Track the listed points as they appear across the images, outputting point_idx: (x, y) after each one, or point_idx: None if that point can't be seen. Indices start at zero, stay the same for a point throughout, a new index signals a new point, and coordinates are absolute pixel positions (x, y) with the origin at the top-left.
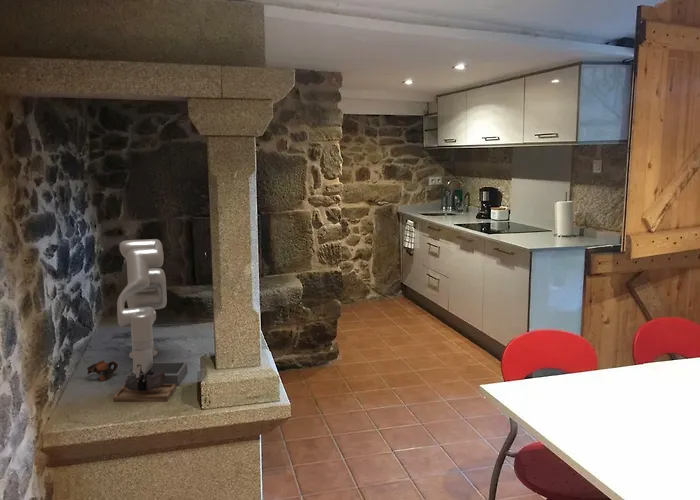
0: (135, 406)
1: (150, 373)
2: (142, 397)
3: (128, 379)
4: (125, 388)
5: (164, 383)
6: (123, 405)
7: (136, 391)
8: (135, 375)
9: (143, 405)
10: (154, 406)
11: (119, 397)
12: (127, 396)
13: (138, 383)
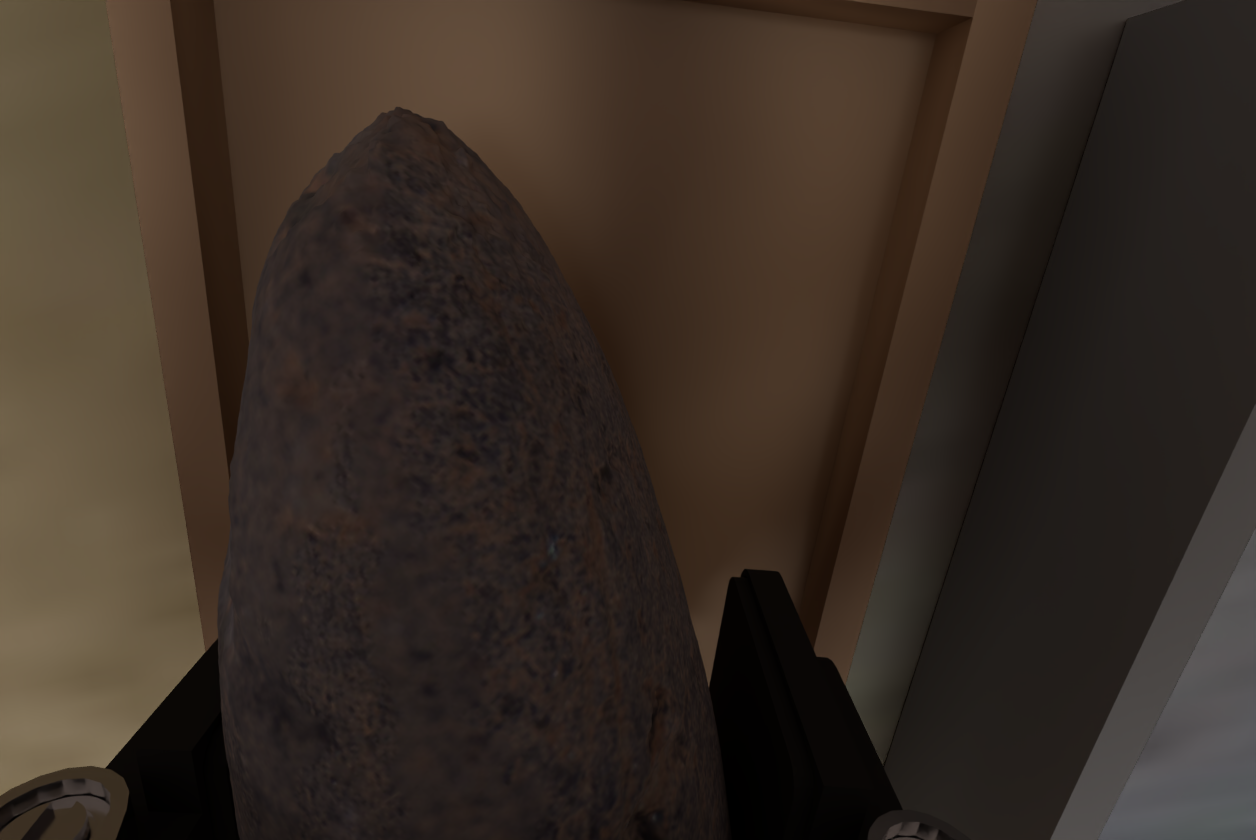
0: (33, 473)
1: None
2: (211, 596)
3: (263, 331)
4: (848, 31)
5: (915, 764)
6: (27, 221)
7: (617, 367)
8: (373, 747)
9: (101, 593)
10: (95, 749)
11: (129, 49)
12: (162, 279)
13: (194, 702)
